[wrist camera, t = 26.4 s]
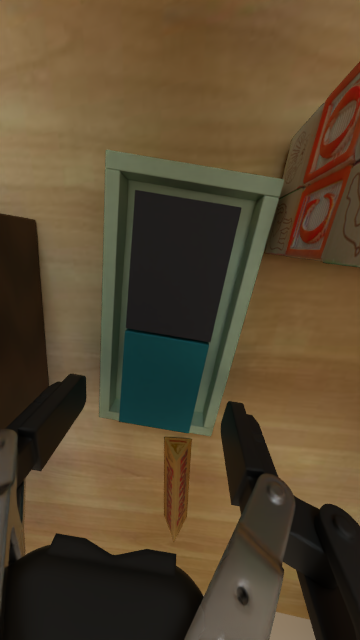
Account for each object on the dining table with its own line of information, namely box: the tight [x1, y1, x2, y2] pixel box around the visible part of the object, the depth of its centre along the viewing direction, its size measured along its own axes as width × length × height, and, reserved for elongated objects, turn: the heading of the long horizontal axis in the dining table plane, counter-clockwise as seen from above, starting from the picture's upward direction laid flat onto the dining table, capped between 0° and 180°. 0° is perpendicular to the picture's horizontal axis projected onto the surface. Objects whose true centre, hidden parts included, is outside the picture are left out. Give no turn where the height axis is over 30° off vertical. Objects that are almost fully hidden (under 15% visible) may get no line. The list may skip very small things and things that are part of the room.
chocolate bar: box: [164, 437, 192, 542], centre depth 20 cm, size 3×12×2 cm, turn 178°
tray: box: [99, 150, 284, 436], centre depth 14 cm, size 18×9×2 cm, turn 171°
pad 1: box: [126, 190, 242, 342], centre depth 12 cm, size 7×5×3 cm
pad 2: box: [119, 328, 209, 433], centre depth 14 cm, size 7×5×3 cm
